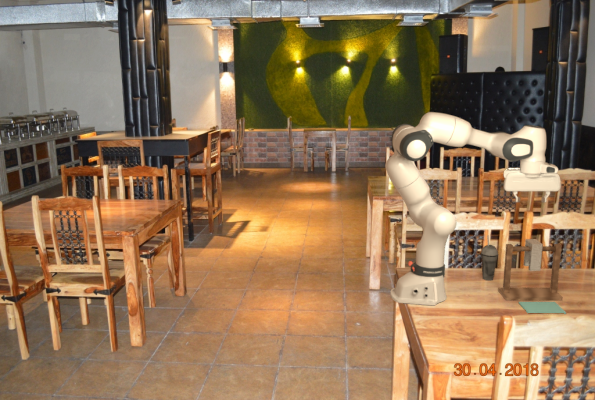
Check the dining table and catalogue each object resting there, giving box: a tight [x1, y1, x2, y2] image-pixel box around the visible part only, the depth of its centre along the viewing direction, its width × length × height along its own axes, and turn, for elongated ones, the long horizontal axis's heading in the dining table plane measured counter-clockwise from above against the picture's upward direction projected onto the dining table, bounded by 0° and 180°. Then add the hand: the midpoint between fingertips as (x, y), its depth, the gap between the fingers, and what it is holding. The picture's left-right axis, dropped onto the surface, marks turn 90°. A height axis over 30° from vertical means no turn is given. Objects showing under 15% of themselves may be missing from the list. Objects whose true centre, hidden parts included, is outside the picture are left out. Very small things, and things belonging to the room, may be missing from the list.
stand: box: [497, 243, 563, 302], centre depth 216 cm, size 22×10×22 cm, turn 88°
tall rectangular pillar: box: [523, 238, 544, 272], centre depth 215 cm, size 4×7×11 cm, turn 178°
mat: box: [518, 301, 567, 315], centre depth 206 cm, size 14×10×1 cm
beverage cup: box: [480, 234, 499, 281], centre depth 235 cm, size 7×7×20 cm
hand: (530, 202), depth 209 cm, fingers open, 8 cm apart
